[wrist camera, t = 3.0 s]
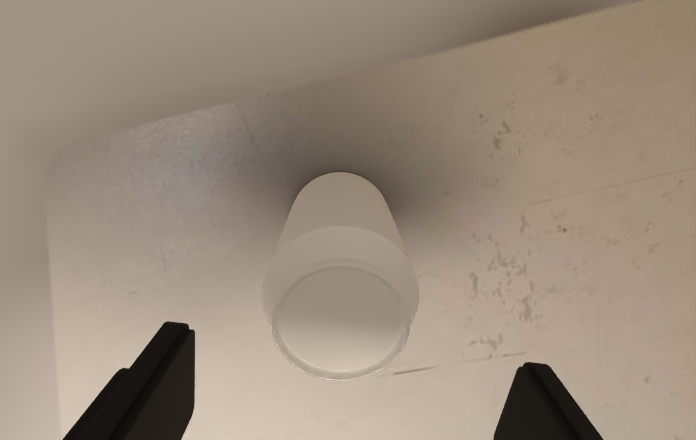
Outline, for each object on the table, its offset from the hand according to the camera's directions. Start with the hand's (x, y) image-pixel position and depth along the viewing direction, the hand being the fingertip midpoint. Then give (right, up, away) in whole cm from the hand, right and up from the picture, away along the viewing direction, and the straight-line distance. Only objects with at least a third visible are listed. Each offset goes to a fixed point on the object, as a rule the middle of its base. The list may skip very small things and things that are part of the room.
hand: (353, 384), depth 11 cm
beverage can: (-1, +5, +14) cm, 15 cm away
